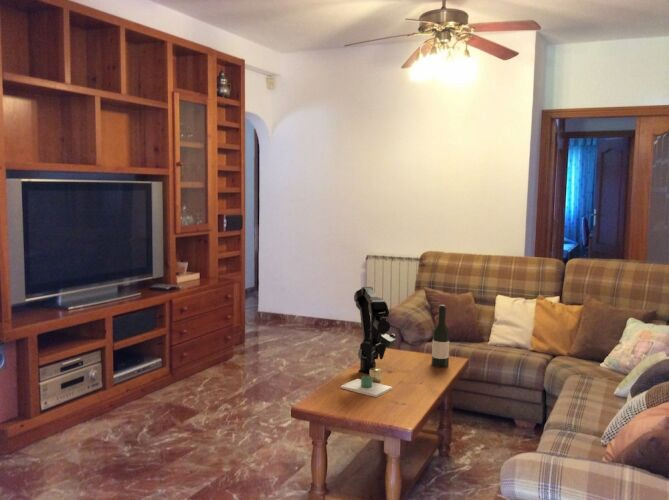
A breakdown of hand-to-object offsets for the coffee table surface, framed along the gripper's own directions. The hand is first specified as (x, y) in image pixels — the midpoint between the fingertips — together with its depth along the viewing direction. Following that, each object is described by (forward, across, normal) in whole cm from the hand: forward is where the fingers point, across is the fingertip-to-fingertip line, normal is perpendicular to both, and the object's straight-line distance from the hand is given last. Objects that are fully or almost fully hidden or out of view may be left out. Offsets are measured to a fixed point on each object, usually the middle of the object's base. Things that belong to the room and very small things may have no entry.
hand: (375, 361), depth 278 cm
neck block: (+9, -12, -3) cm, 15 cm away
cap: (+9, 0, 0) cm, 9 cm away
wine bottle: (+9, +41, -12) cm, 44 cm away
